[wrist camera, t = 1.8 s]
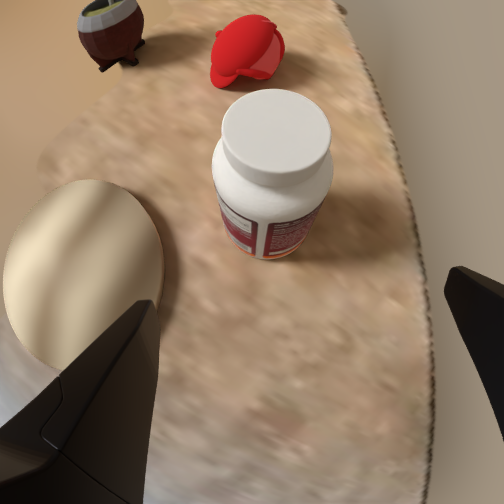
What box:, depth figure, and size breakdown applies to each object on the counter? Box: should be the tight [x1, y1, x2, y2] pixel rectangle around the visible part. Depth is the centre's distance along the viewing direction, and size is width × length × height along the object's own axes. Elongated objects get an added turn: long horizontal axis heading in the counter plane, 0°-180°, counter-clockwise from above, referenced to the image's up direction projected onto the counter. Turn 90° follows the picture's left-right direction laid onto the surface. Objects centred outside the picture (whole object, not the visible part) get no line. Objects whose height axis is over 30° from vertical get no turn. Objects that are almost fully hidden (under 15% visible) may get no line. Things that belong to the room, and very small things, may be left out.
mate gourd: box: [77, 0, 145, 72], centre depth 21 cm, size 8×8×15 cm
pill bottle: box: [212, 89, 333, 259], centre depth 18 cm, size 6×6×11 cm
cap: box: [210, 15, 285, 88], centre depth 25 cm, size 8×6×6 cm
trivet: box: [3, 180, 165, 370], centre depth 21 cm, size 15×15×1 cm
